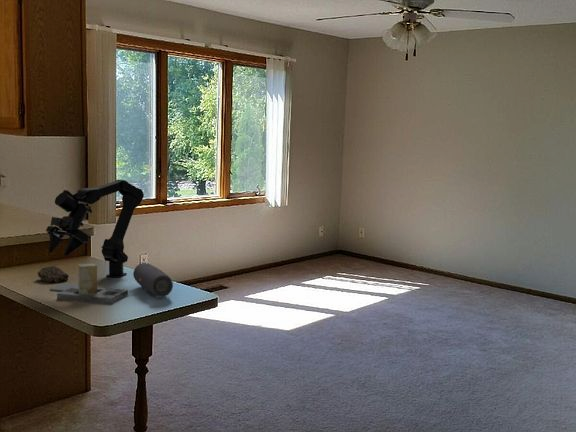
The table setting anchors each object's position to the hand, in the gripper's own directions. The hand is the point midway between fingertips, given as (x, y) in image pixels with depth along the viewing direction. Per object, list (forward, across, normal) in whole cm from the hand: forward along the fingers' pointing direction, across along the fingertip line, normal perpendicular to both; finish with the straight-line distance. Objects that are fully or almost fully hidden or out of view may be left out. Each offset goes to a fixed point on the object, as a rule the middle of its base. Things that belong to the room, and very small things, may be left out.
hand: (57, 253), depth 233 cm
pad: (+10, 0, +11) cm, 15 cm away
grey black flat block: (+11, +18, +9) cm, 23 cm away
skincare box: (+12, +16, +9) cm, 22 cm away
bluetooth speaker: (+2, +31, +23) cm, 39 cm away
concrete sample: (+7, -15, +16) cm, 23 cm away
